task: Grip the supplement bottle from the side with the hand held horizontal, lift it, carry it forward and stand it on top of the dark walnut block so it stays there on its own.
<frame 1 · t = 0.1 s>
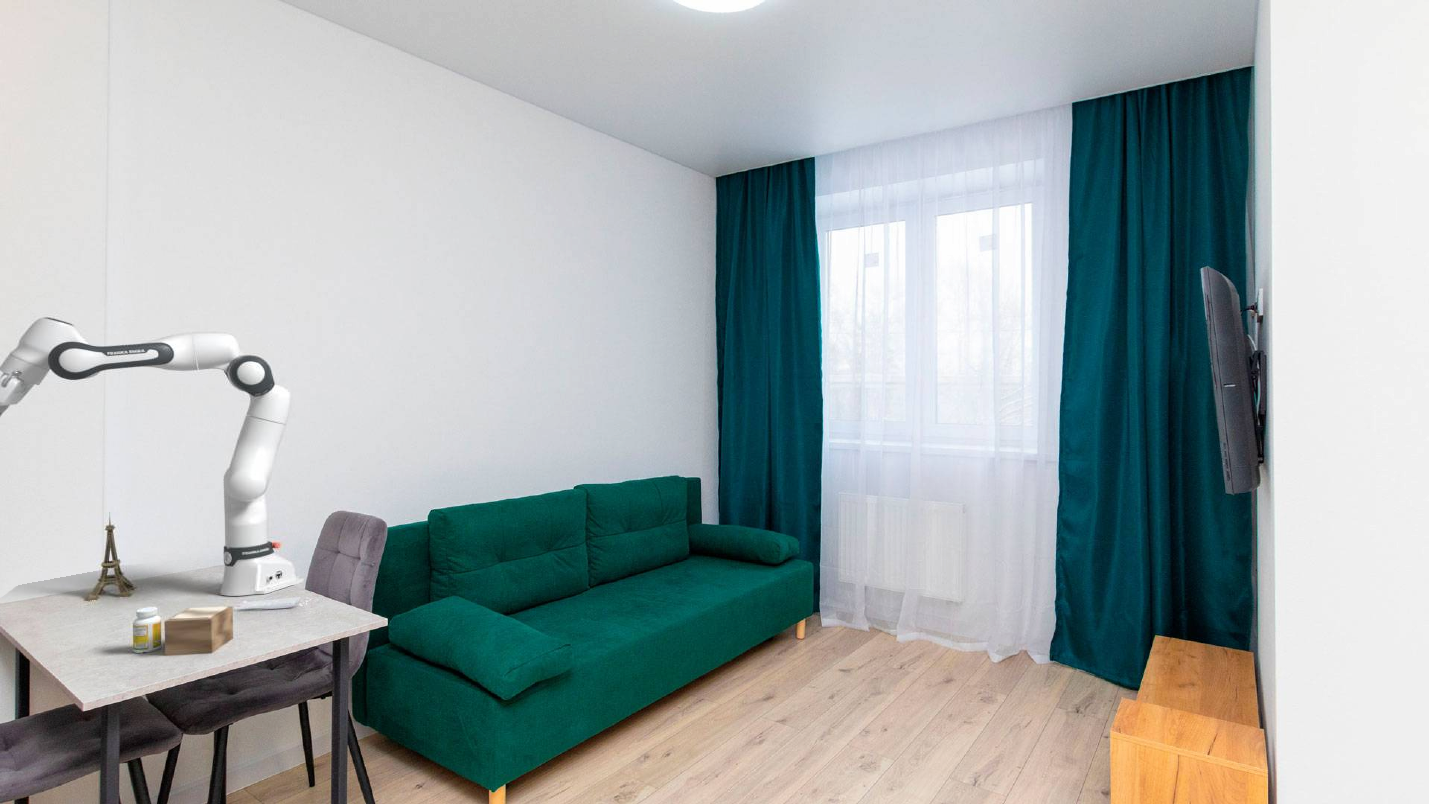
eiffel tower: (111, 595, 220), on the table
supplement bottle: (147, 650, 175), on the table
walnut block: (200, 646, 177), on the table
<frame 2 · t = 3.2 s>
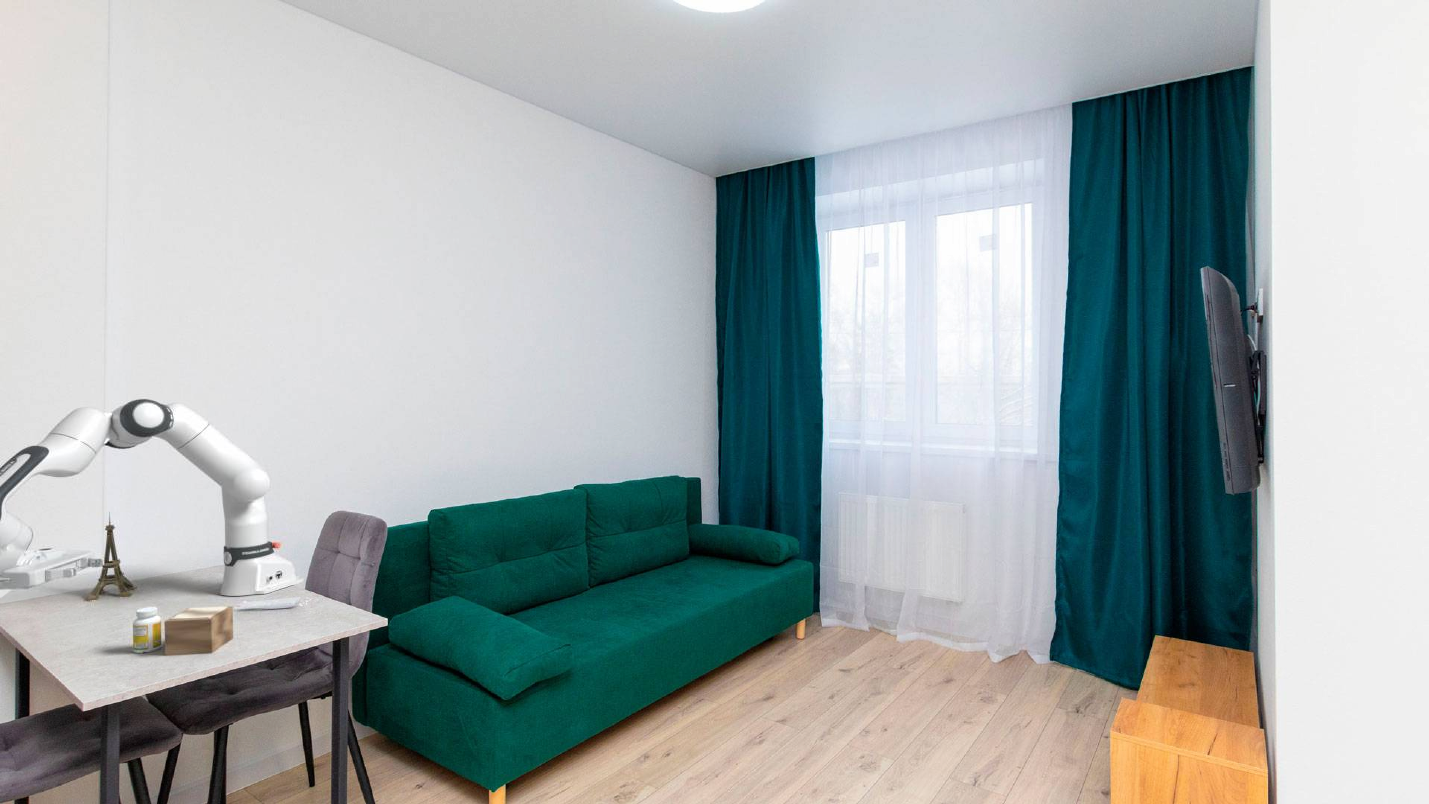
hand: (88, 567, 173), 20 cm above the table, tool horizontal, fingers open, 8 cm apart
nothing on the table moved.
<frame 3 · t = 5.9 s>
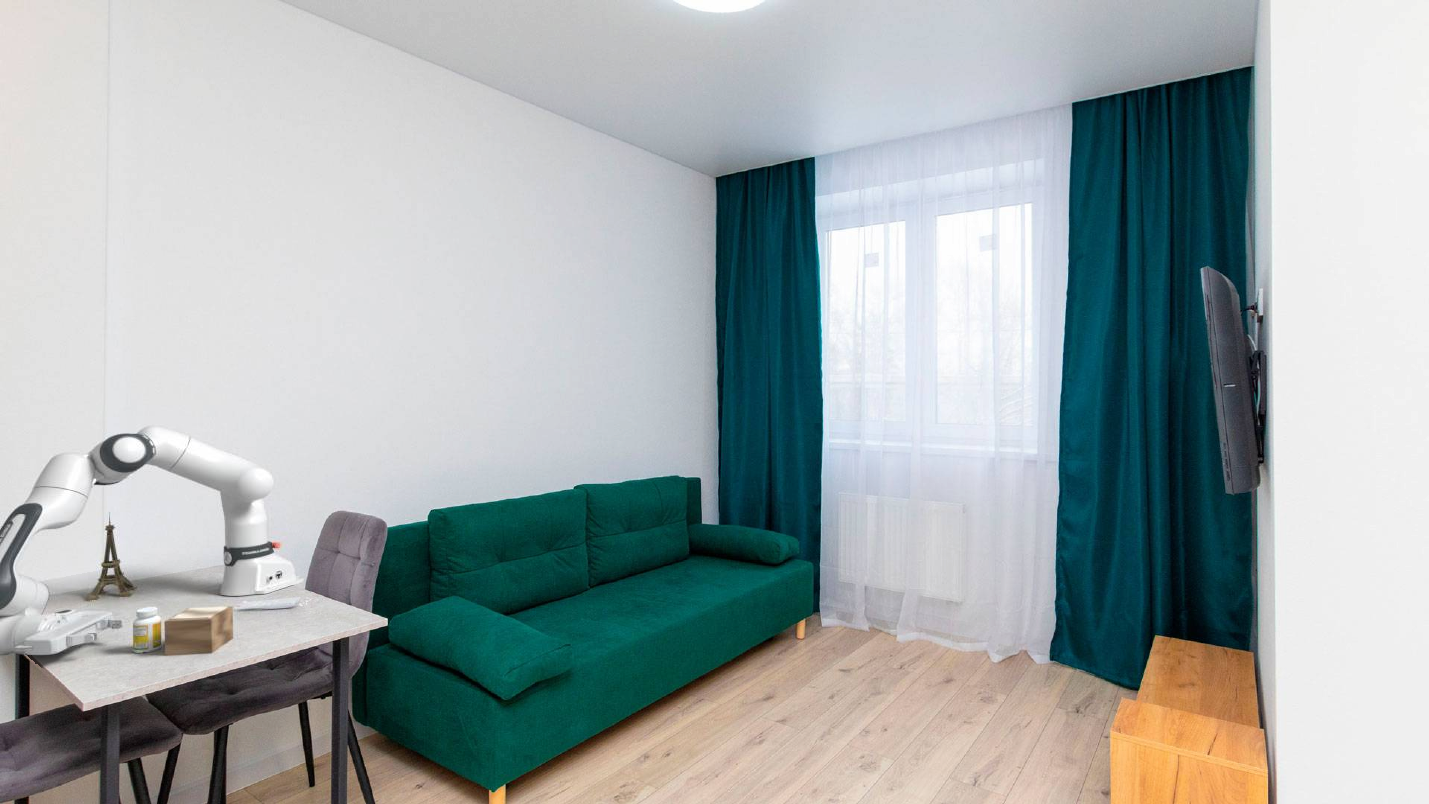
hand: (108, 630, 174), 5 cm above the table, tool horizontal, fingers open, 8 cm apart
nothing on the table moved.
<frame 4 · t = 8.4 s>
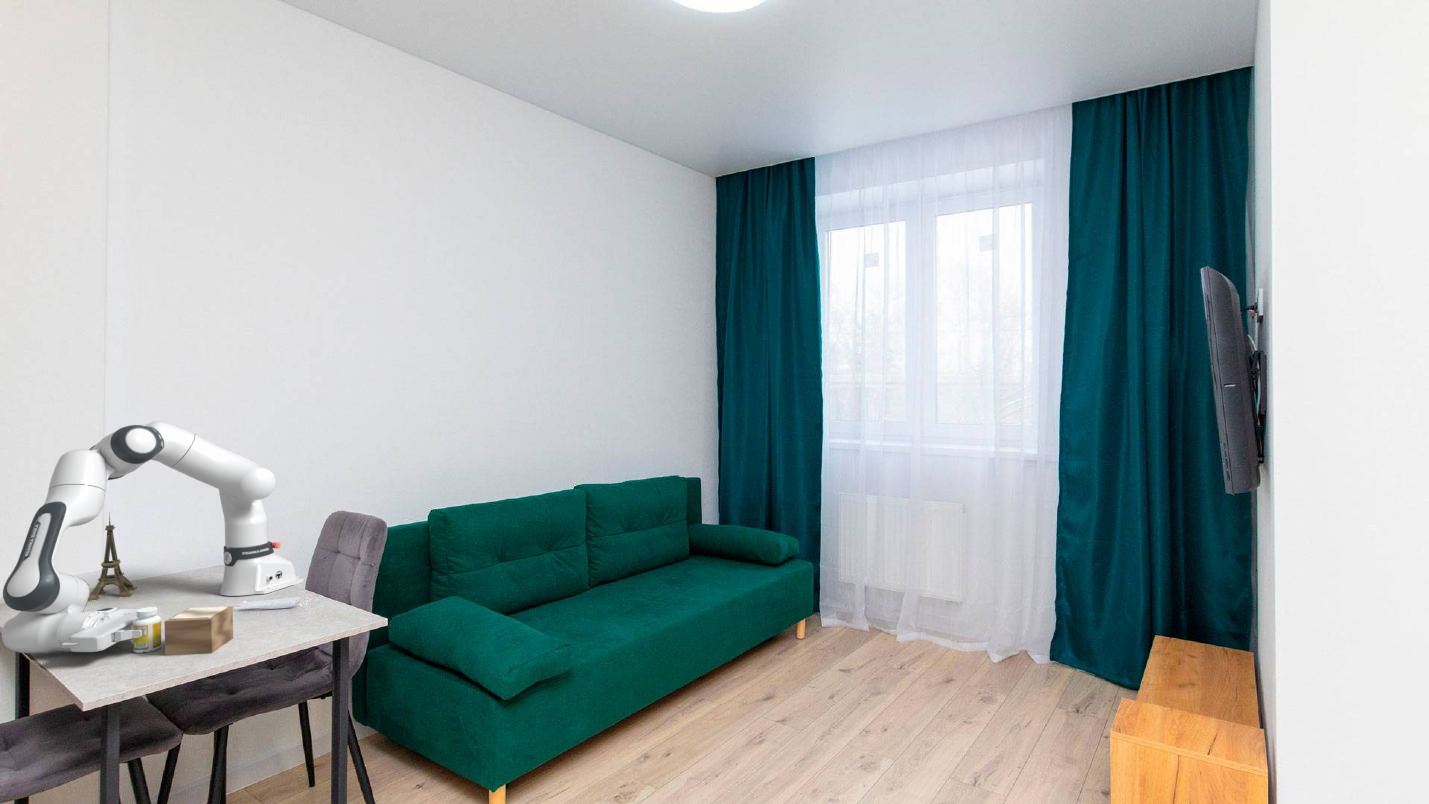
hand: (151, 628, 175), 5 cm above the table, tool horizontal, fingers closed on supplement bottle, 5 cm apart
supplement bottle: (147, 650, 175), on the table, touching gripper
everything else where it was.
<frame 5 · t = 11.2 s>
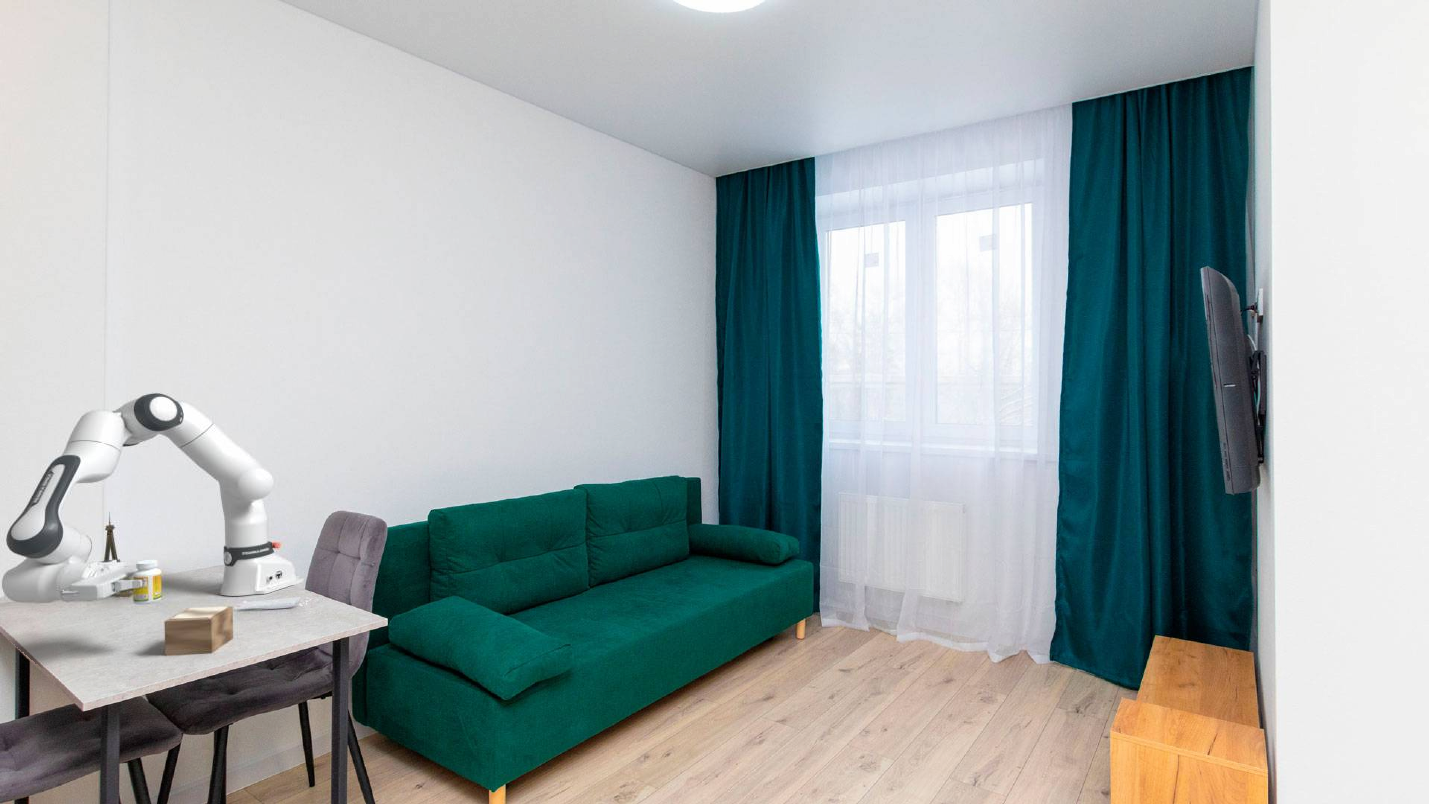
hand: (151, 579, 175), 17 cm above the table, tool horizontal, fingers closed on supplement bottle, 5 cm apart
supplement bottle: (147, 602, 175), point 11 cm above the table, touching gripper
everything else where it was.
when the fingers open (14 cm above the table, at t = 14.1 s): supplement bottle stays where it is, resting on walnut block.
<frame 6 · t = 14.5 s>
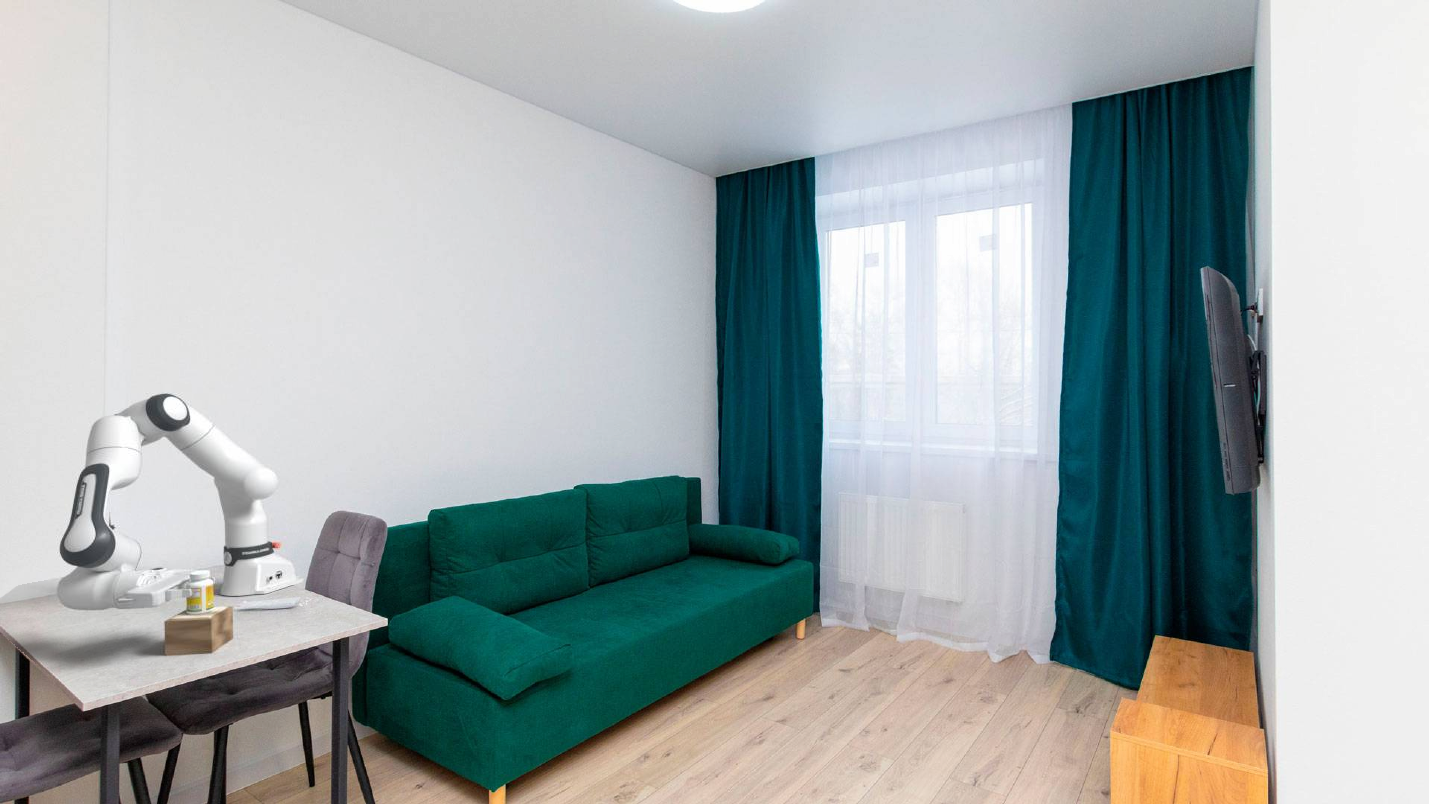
hand: (203, 586, 177), 14 cm above the table, tool horizontal, fingers open, 8 cm apart
supplement bottle: (200, 612, 177), point 8 cm above the table, touching walnut block
everything else where it was.
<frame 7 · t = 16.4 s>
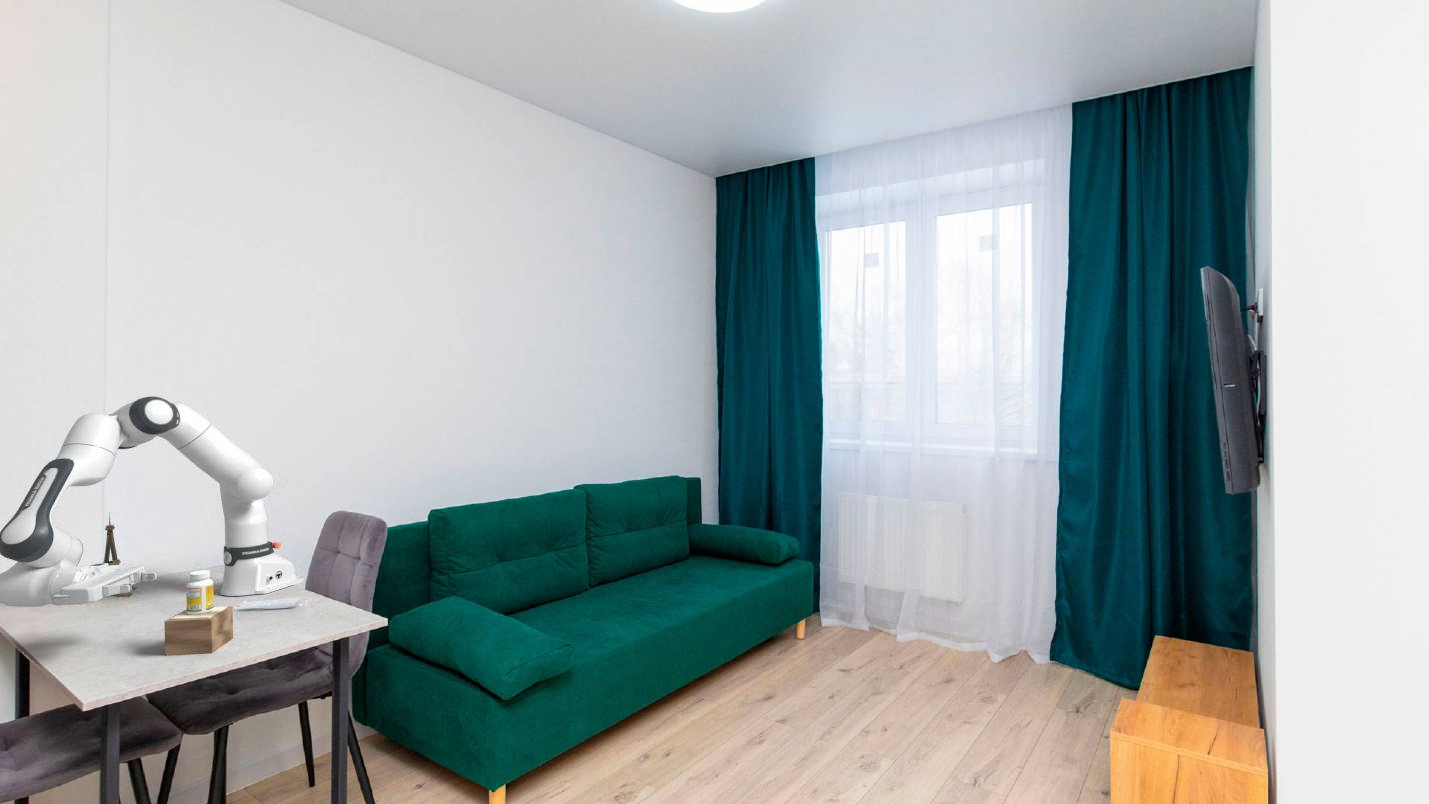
hand: (142, 582, 175), 16 cm above the table, tool horizontal, fingers open, 8 cm apart
nothing on the table moved.
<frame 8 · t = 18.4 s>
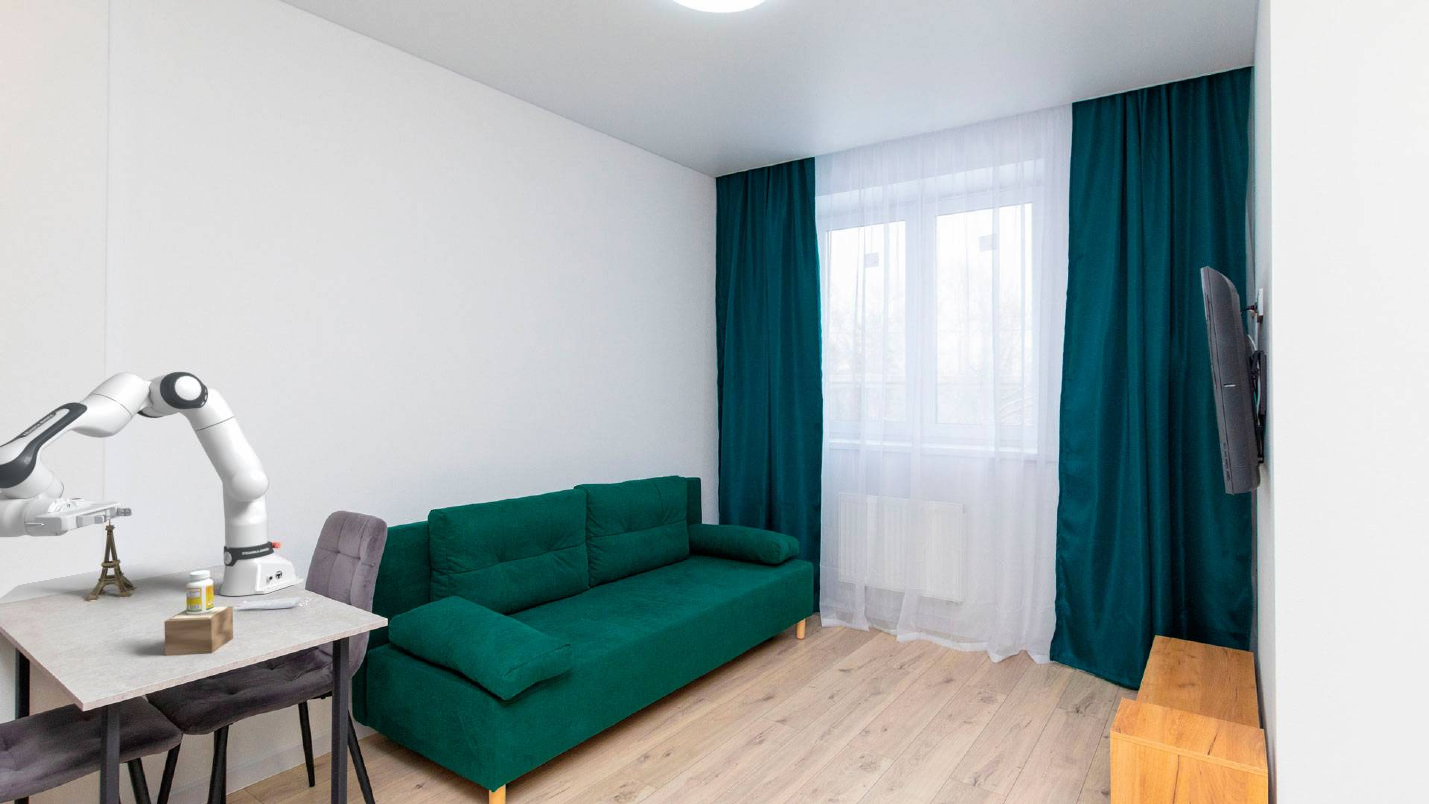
hand: (118, 515, 175), 32 cm above the table, tool horizontal, fingers open, 8 cm apart
nothing on the table moved.
at the end: supplement bottle inside the target area on the walnut block (0.6 cm from its centre), point 8.1 cm above the walnut block's base; supplement bottle tilted 0°; the gripper is holding nothing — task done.
